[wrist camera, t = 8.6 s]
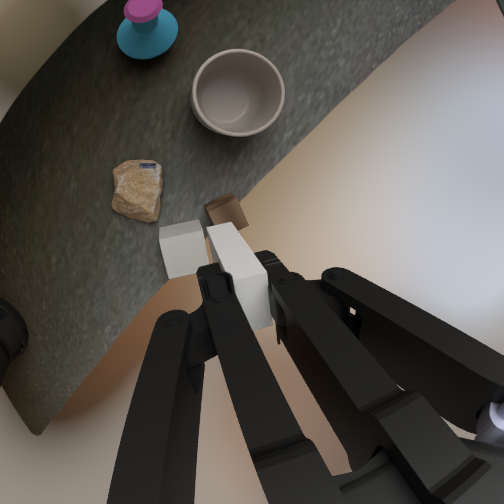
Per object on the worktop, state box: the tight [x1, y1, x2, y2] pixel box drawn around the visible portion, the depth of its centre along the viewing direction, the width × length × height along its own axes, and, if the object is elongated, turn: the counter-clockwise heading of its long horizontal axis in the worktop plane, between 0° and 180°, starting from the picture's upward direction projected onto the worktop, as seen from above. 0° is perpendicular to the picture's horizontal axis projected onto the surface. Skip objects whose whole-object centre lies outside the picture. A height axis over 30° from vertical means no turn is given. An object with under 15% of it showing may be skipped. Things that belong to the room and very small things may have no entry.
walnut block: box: [205, 192, 249, 231], centre depth 48 cm, size 5×5×5 cm
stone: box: [112, 160, 163, 223], centre depth 43 cm, size 8×10×4 cm
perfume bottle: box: [117, 0, 178, 59], centre depth 28 cm, size 9×9×15 cm
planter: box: [190, 49, 285, 137], centre depth 38 cm, size 12×12×11 cm
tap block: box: [159, 219, 209, 279], centre depth 48 cm, size 7×7×6 cm
